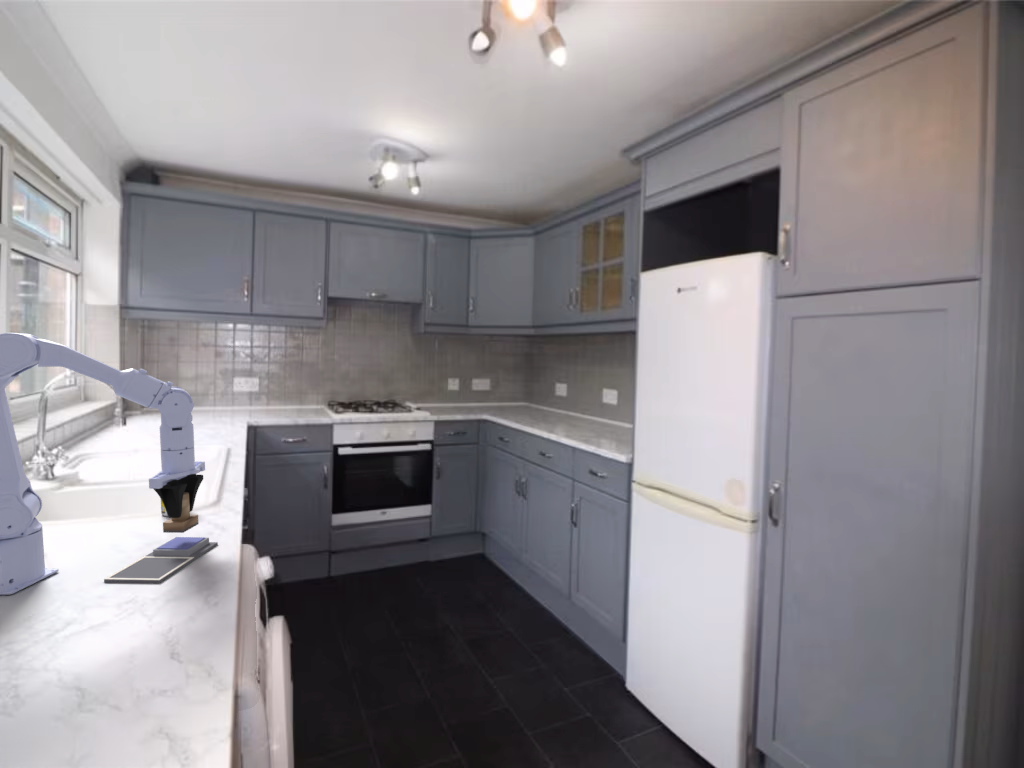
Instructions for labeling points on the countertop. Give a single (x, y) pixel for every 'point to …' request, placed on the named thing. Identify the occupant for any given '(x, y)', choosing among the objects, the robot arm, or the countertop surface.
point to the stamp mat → (163, 561)
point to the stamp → (181, 519)
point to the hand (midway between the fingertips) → (180, 514)
